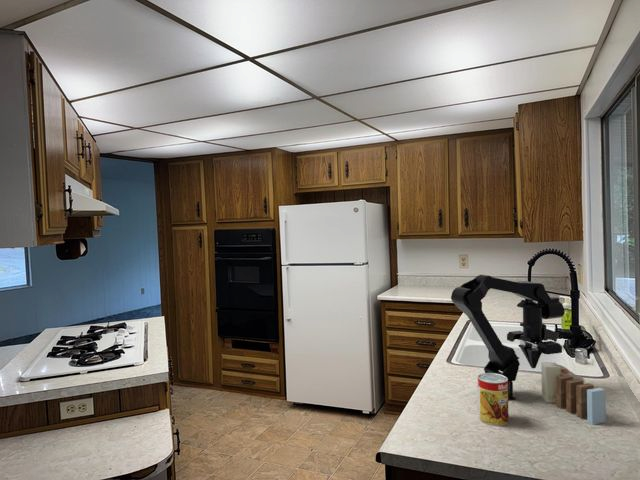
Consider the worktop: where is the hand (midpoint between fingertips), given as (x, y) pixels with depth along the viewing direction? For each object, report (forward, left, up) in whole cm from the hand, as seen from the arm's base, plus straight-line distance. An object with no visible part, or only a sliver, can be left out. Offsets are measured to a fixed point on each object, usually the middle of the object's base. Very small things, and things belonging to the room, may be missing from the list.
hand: (533, 367), depth 141 cm
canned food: (-25, -13, -8) cm, 29 cm away
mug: (+13, 0, -8) cm, 15 cm away
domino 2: (0, -16, -8) cm, 18 cm away
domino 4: (0, -24, -8) cm, 25 cm away
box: (0, -7, -8) cm, 11 cm away
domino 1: (0, -13, -8) cm, 15 cm away
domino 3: (0, -20, -8) cm, 21 cm away
